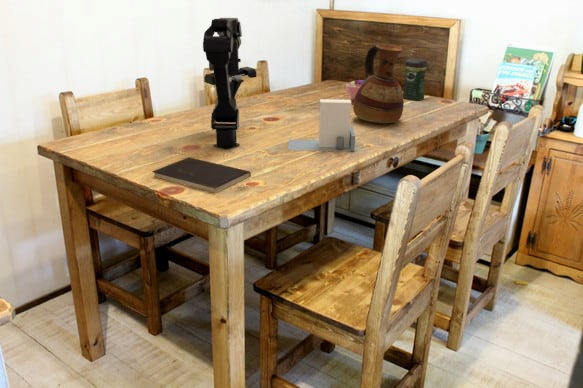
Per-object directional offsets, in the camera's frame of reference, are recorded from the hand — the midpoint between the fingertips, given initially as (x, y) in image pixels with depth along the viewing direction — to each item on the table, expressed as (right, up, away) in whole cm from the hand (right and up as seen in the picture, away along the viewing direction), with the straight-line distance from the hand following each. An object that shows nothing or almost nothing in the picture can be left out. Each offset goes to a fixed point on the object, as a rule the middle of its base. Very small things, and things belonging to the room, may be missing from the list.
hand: (231, 99), depth 197 cm
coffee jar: (+79, +11, +63) cm, 101 cm away
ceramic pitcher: (+56, -5, +23) cm, 60 cm away
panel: (+36, -18, -13) cm, 42 cm away
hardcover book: (-4, -30, -39) cm, 49 cm away
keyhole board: (+31, -18, -12) cm, 38 cm away
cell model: (+56, +8, +56) cm, 79 cm away
